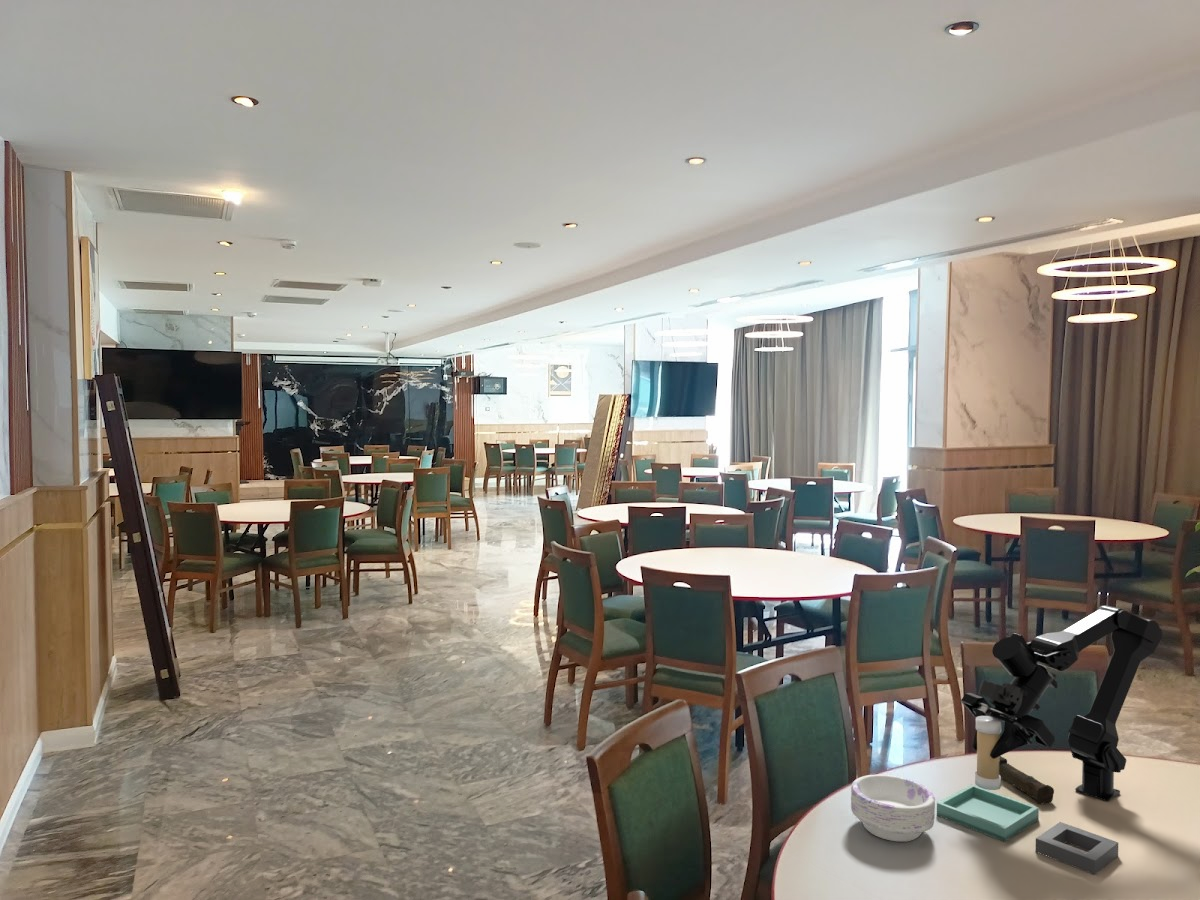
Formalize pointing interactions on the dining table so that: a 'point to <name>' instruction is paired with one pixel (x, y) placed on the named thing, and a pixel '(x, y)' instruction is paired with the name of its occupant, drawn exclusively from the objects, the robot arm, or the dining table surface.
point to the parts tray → (988, 812)
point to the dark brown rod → (1025, 782)
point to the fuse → (987, 753)
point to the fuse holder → (1091, 861)
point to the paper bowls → (892, 806)
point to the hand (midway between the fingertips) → (982, 753)
